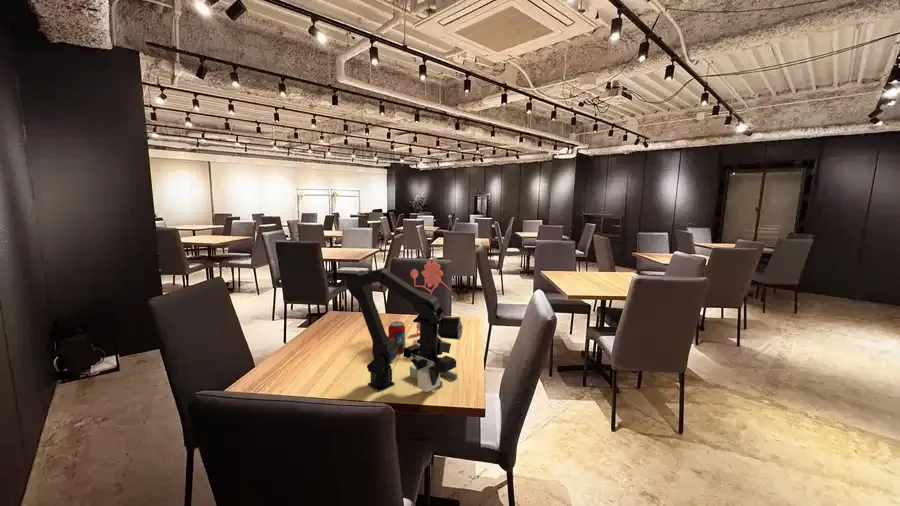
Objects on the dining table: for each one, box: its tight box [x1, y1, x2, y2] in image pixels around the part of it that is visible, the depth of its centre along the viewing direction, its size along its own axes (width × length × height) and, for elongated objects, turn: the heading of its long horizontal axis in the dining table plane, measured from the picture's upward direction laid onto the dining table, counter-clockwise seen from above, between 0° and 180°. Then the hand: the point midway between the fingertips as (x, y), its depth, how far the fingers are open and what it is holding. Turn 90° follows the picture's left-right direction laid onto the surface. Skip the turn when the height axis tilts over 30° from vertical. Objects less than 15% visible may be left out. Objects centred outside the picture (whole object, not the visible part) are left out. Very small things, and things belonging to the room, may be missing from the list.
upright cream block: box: [417, 364, 441, 393], centre depth 120 cm, size 4×6×6 cm, turn 138°
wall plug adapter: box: [409, 361, 458, 389], centre depth 131 cm, size 10×14×6 cm
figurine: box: [410, 259, 452, 339], centre depth 171 cm, size 15×26×35 cm, turn 48°
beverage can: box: [387, 320, 406, 355], centre depth 153 cm, size 7×7×12 cm
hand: (429, 382), depth 121 cm, fingers closed on upright cream block, 4 cm apart
